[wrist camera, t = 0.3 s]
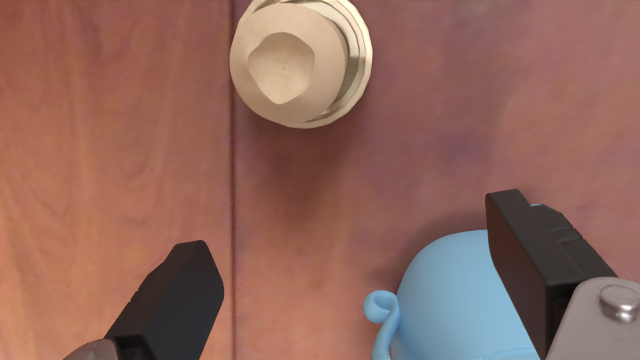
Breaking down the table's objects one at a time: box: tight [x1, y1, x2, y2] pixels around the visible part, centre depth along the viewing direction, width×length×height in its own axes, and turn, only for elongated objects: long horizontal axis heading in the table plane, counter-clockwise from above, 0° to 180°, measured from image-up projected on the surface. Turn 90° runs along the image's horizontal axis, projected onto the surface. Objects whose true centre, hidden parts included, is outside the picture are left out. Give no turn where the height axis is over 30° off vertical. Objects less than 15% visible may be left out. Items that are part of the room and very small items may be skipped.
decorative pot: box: [363, 204, 541, 360], centre depth 26 cm, size 16×16×14 cm
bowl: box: [235, 0, 373, 129], centre depth 26 cm, size 8×8×4 cm
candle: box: [230, 3, 348, 124], centre depth 22 cm, size 6×6×10 cm
